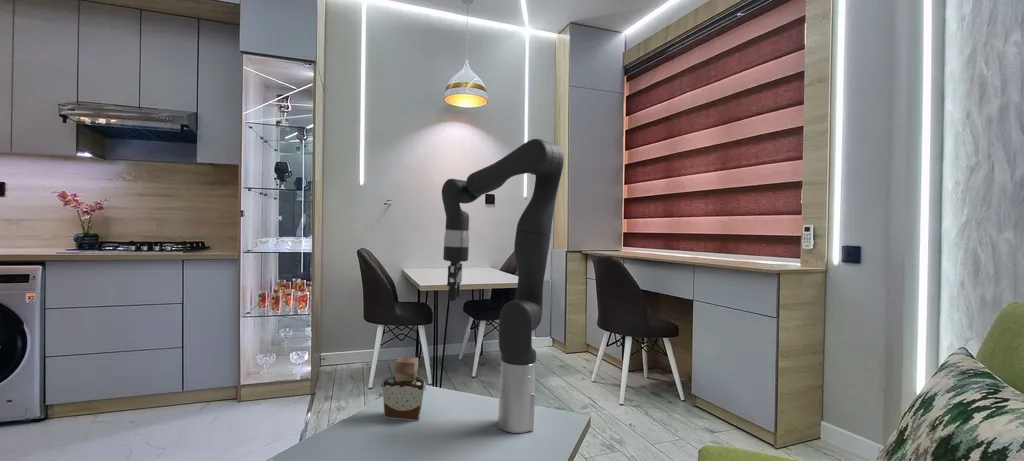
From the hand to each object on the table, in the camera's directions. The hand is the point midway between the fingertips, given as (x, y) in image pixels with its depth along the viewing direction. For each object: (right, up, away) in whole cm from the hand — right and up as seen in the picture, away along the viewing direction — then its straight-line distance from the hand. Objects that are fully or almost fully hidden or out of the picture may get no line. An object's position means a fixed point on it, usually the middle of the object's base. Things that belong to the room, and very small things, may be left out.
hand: (453, 298), depth 137 cm
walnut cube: (-11, -20, -14) cm, 27 cm away
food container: (-11, -30, -14) cm, 35 cm away
